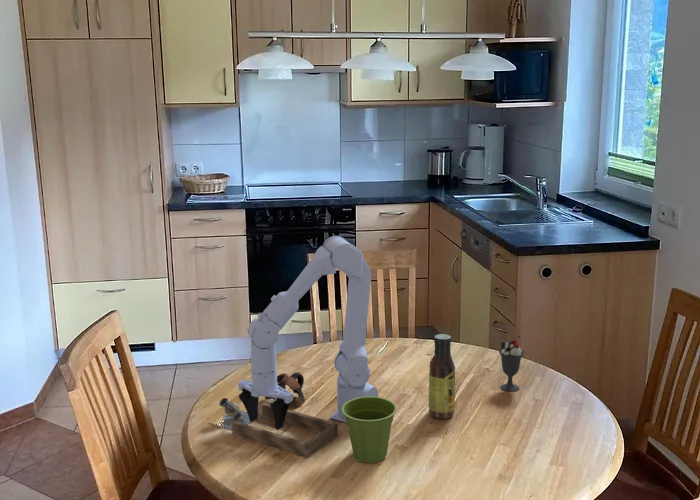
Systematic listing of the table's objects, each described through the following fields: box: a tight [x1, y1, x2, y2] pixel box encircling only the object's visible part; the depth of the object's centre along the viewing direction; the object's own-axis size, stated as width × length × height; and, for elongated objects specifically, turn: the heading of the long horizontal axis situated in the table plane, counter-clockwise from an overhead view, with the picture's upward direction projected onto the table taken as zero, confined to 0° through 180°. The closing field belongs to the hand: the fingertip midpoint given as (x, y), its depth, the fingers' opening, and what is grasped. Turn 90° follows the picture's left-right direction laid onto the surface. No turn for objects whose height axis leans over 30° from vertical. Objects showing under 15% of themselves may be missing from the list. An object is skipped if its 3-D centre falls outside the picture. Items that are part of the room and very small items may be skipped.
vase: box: [218, 397, 246, 421], centre depth 174 cm, size 5×5×6 cm
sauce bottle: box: [428, 333, 456, 420], centre depth 174 cm, size 7×6×20 cm
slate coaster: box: [215, 409, 262, 431], centre depth 175 cm, size 9×9×1 cm
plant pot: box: [342, 396, 398, 464], centre depth 157 cm, size 12×12×11 cm
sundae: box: [497, 334, 525, 393], centre depth 189 cm, size 7×7×15 cm
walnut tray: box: [231, 402, 339, 459], centre depth 167 cm, size 21×12×3 cm, turn 58°
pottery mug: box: [264, 371, 306, 408], centre depth 185 cm, size 12×10×8 cm
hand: (266, 424), depth 170 cm, fingers open, 7 cm apart
